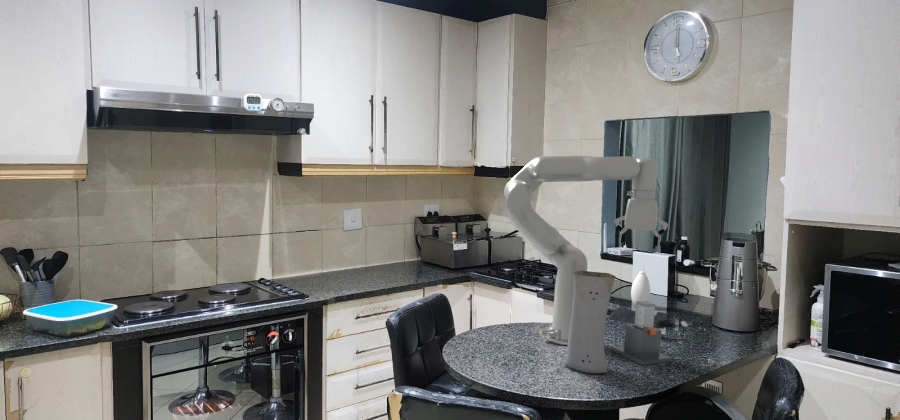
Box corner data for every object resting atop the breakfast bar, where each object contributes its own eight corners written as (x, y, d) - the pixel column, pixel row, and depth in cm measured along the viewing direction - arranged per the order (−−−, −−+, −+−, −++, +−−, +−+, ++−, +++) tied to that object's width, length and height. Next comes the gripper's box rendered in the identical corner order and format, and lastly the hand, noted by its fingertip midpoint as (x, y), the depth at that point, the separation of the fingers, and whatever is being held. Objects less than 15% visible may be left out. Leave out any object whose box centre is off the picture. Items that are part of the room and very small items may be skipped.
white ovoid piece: (650, 306, 263) (654, 265, 262) (646, 310, 257) (649, 268, 255) (632, 303, 267) (636, 263, 266) (627, 306, 261) (631, 265, 259)
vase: (618, 372, 176) (628, 277, 174) (585, 378, 168) (594, 278, 167) (586, 359, 187) (594, 269, 185) (552, 364, 179) (561, 270, 178)
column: (641, 354, 189) (646, 304, 188) (632, 350, 193) (636, 301, 192) (651, 353, 190) (656, 304, 189) (642, 349, 195) (646, 300, 193)
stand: (641, 364, 183) (643, 333, 183) (611, 350, 196) (614, 320, 195) (671, 361, 188) (674, 330, 187) (641, 347, 201) (643, 318, 200)
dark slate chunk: (616, 312, 250) (617, 301, 250) (672, 322, 239) (673, 311, 239) (606, 320, 237) (606, 308, 237) (664, 331, 226) (665, 318, 226)
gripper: (615, 194, 200) (611, 245, 202) (670, 198, 194) (666, 250, 196) (617, 193, 207) (613, 243, 209) (670, 197, 201) (666, 248, 203)
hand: (638, 246), depth 202 cm, fingers open, 9 cm apart
